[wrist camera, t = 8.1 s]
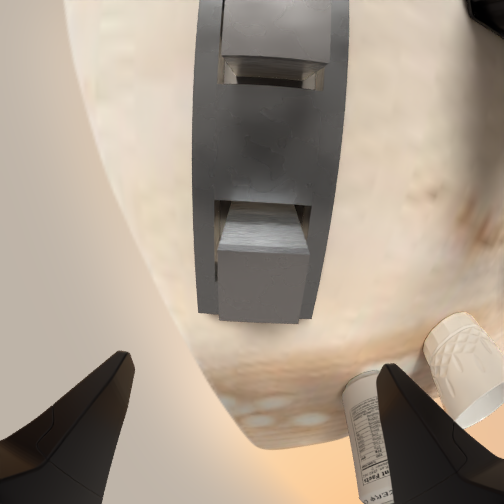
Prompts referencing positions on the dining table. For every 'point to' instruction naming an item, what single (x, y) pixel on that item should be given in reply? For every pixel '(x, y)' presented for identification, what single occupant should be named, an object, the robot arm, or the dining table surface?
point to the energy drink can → (367, 439)
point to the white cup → (465, 369)
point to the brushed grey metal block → (262, 264)
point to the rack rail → (264, 148)
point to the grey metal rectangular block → (276, 37)
